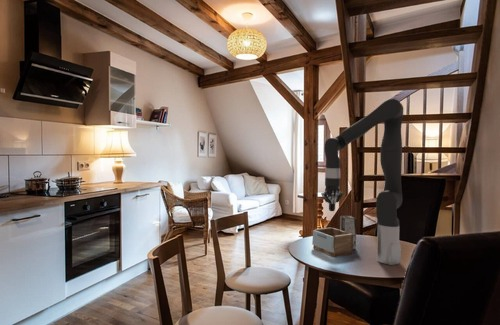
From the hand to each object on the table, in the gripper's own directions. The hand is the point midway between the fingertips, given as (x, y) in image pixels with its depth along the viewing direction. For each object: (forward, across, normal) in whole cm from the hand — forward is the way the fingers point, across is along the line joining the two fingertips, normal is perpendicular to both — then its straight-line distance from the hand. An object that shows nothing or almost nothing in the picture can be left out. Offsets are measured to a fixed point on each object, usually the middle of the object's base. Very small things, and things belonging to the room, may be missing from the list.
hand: (331, 210), depth 161 cm
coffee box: (+21, +14, +3) cm, 25 cm away
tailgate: (+19, -6, 0) cm, 19 cm away
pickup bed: (+21, +1, 0) cm, 21 cm away
